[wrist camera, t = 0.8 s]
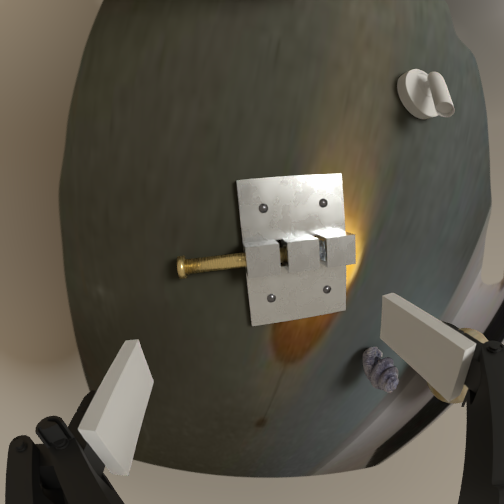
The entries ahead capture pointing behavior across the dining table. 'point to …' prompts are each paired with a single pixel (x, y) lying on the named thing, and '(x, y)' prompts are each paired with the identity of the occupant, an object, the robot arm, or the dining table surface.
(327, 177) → the hinge leaves
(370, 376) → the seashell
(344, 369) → the dining table surface
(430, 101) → the wall hook
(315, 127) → the dining table surface
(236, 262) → the pin
